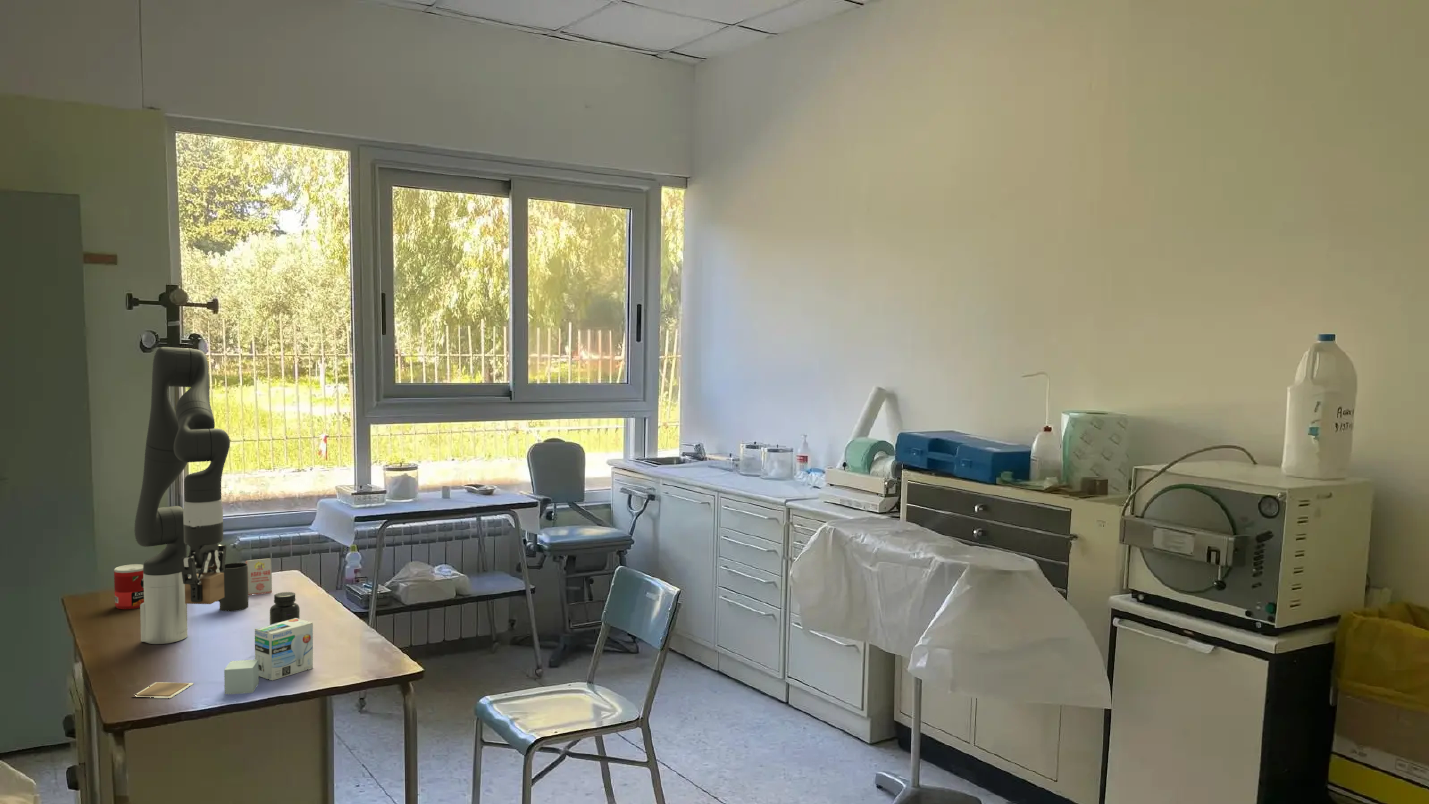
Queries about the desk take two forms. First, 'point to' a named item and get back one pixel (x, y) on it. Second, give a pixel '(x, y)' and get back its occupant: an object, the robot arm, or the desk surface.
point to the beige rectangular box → (259, 576)
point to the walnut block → (208, 588)
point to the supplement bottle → (284, 608)
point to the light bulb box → (284, 648)
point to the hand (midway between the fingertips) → (204, 597)
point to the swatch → (163, 690)
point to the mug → (235, 587)
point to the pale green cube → (241, 676)
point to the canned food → (129, 586)
